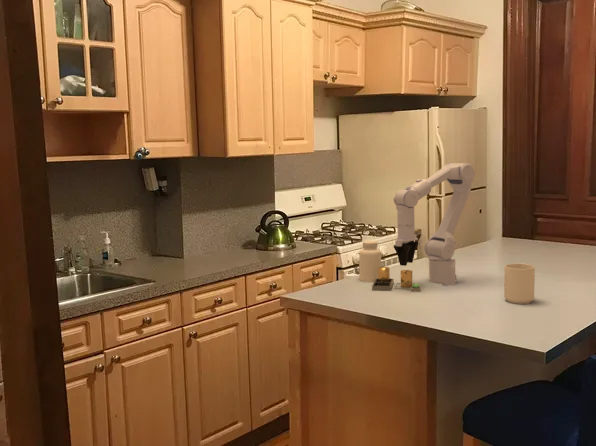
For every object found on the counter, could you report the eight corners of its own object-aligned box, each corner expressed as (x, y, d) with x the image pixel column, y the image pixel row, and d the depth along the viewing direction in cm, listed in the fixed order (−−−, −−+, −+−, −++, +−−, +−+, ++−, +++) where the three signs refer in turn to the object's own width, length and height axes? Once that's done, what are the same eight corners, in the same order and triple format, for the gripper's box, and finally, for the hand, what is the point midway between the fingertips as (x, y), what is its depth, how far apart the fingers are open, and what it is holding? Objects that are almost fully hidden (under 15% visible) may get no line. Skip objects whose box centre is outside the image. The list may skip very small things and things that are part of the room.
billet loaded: (390, 283, 226) (390, 266, 225) (389, 285, 222) (389, 269, 222) (378, 283, 227) (378, 266, 226) (377, 285, 223) (377, 268, 222)
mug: (534, 305, 195) (534, 269, 194) (503, 303, 198) (504, 268, 197) (534, 296, 206) (534, 262, 205) (505, 294, 209) (505, 261, 208)
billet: (412, 286, 222) (412, 270, 222) (412, 289, 219) (411, 272, 218) (401, 286, 223) (401, 269, 223) (400, 289, 219) (400, 272, 219)
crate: (394, 285, 227) (394, 278, 227) (391, 293, 215) (391, 286, 215) (375, 285, 229) (375, 278, 228) (371, 293, 217) (371, 285, 216)
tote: (418, 286, 224) (418, 283, 224) (417, 292, 216) (417, 288, 216) (395, 286, 226) (395, 283, 226) (394, 291, 218) (394, 288, 218)
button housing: (420, 292, 216) (420, 286, 215) (420, 294, 213) (420, 288, 212) (411, 292, 216) (411, 286, 216) (411, 294, 213) (411, 288, 213)
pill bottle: (380, 284, 229) (380, 243, 227) (358, 284, 231) (357, 243, 229) (382, 279, 237) (381, 240, 235) (360, 279, 239) (359, 240, 237)
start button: (419, 291, 215) (419, 283, 215) (419, 293, 213) (419, 285, 213) (412, 291, 216) (412, 283, 215) (412, 293, 213) (412, 285, 213)
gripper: (409, 228, 210) (409, 268, 212) (424, 222, 222) (424, 261, 224) (389, 227, 214) (389, 267, 215) (405, 222, 226) (405, 259, 228)
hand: (406, 263), depth 220 cm, fingers open, 5 cm apart
